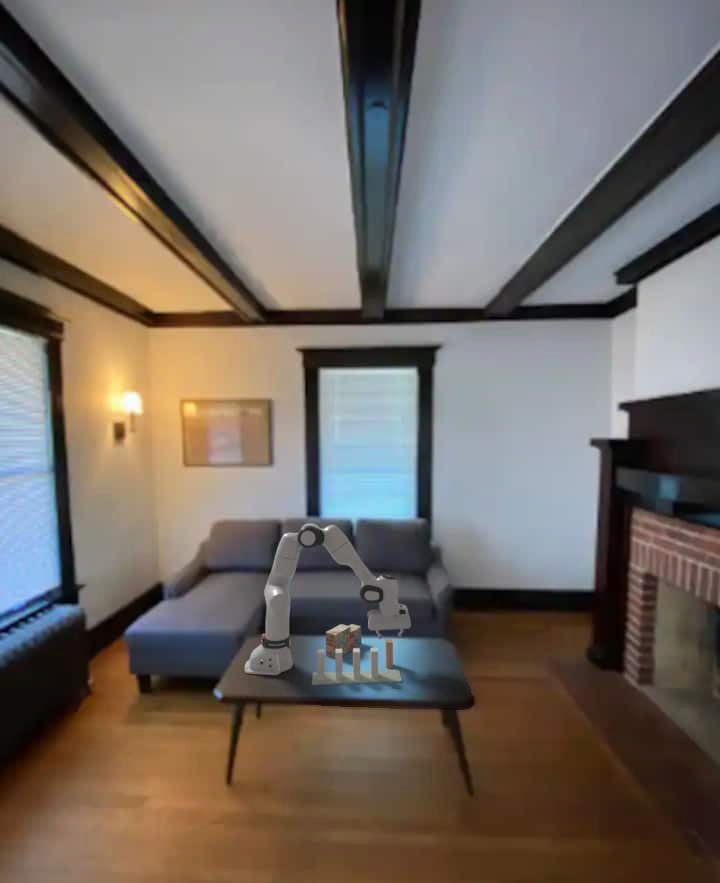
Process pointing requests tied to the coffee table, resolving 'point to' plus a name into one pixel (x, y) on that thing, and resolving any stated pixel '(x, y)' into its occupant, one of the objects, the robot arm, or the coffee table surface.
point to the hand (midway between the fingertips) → (389, 637)
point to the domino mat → (365, 677)
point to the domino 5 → (389, 653)
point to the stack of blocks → (342, 639)
